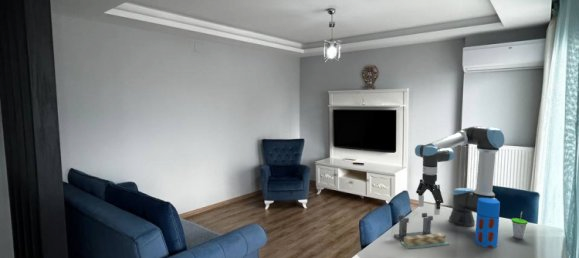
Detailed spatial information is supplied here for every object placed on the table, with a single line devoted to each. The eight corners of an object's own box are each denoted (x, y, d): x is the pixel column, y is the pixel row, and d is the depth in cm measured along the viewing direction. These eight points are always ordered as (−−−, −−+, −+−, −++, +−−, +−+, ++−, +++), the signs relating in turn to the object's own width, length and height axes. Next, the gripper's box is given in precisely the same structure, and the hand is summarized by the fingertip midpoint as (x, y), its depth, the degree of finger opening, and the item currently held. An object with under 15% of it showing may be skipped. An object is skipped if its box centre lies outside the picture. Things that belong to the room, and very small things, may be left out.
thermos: (500, 248, 175) (503, 204, 173) (479, 246, 177) (482, 202, 175) (492, 240, 186) (495, 198, 184) (472, 238, 188) (474, 197, 186)
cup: (518, 240, 186) (519, 215, 185) (507, 234, 194) (508, 210, 192) (529, 239, 187) (531, 214, 186) (518, 234, 195) (519, 210, 194)
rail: (440, 239, 184) (441, 233, 184) (445, 242, 181) (445, 235, 180) (403, 243, 179) (404, 236, 178) (407, 246, 175) (407, 239, 175)
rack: (427, 233, 195) (428, 212, 194) (435, 237, 188) (436, 216, 187) (393, 236, 190) (394, 215, 189) (400, 241, 183) (401, 219, 182)
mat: (440, 239, 186) (440, 238, 186) (448, 244, 180) (449, 243, 179) (400, 243, 180) (400, 242, 180) (407, 248, 174) (407, 247, 174)
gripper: (410, 169, 190) (409, 203, 192) (439, 179, 165) (438, 218, 167) (421, 168, 191) (420, 202, 193) (451, 178, 167) (450, 217, 169)
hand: (428, 210), depth 180 cm, fingers open, 13 cm apart
